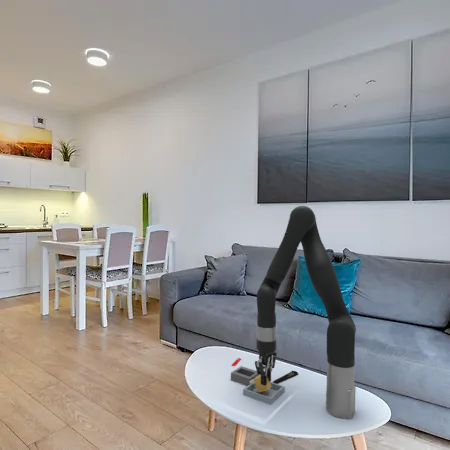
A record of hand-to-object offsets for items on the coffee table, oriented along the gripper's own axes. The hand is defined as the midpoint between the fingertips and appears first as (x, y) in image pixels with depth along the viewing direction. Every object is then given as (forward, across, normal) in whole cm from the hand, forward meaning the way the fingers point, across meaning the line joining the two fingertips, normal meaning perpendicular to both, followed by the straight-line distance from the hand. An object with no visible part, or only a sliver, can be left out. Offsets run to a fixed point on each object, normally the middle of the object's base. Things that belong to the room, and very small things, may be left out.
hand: (265, 382), depth 127 cm
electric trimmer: (+6, +17, -1) cm, 18 cm away
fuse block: (+6, +5, +12) cm, 14 cm away
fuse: (+3, 0, +6) cm, 6 cm away
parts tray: (+6, 0, +1) cm, 6 cm away
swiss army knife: (+6, +18, +25) cm, 31 cm away
